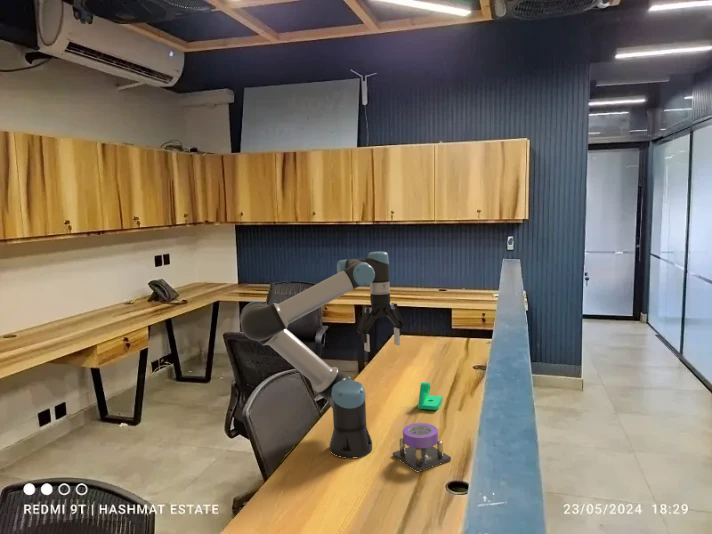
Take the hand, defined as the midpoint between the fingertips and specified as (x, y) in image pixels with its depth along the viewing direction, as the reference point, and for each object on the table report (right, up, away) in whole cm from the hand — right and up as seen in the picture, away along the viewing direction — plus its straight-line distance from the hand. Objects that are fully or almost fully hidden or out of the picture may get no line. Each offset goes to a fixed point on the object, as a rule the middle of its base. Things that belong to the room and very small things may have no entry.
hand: (382, 347), depth 203 cm
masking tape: (+12, -28, -23) cm, 38 cm away
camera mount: (+22, -29, +23) cm, 43 cm away
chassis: (+12, -34, -22) cm, 42 cm away
